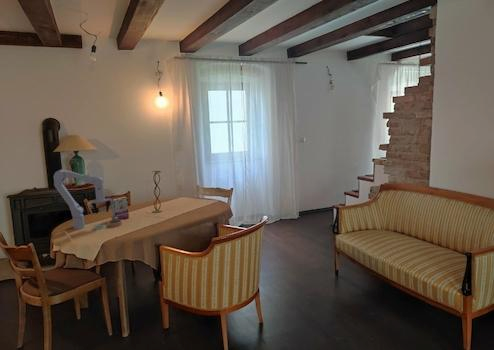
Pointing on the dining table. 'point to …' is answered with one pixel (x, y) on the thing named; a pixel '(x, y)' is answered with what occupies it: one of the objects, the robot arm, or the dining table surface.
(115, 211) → the candy bar box
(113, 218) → the cell
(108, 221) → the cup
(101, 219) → the dining table surface
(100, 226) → the checker
